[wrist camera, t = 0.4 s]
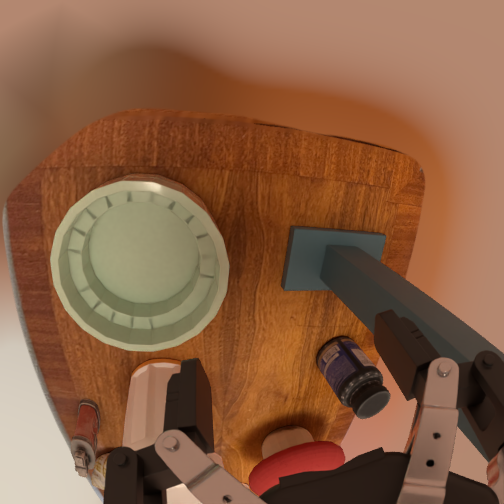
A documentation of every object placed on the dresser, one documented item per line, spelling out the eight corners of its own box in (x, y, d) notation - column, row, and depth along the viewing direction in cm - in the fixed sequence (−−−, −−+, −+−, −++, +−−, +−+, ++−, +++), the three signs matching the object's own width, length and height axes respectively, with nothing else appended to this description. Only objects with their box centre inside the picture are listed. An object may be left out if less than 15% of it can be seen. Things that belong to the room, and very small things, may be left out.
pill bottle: (317, 375, 41) (350, 430, 31) (313, 344, 39) (350, 402, 29) (354, 359, 42) (393, 408, 32) (354, 328, 40) (398, 378, 30)
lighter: (100, 433, 37) (95, 485, 28) (80, 428, 36) (72, 479, 27) (100, 402, 35) (91, 459, 26) (77, 396, 34) (65, 452, 25)
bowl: (69, 172, 25) (46, 180, 20) (226, 178, 29) (238, 187, 24) (79, 314, 30) (65, 345, 25) (213, 319, 34) (221, 352, 29)
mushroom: (235, 465, 46) (253, 533, 33) (242, 415, 41) (269, 499, 28) (314, 452, 50) (342, 511, 37) (337, 401, 45) (378, 469, 31)
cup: (163, 334, 34) (166, 465, 18) (226, 383, 38) (257, 497, 22) (105, 380, 34) (89, 496, 18) (167, 421, 39) (177, 526, 23)
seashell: (158, 480, 43) (135, 517, 34) (114, 456, 45) (88, 490, 35) (161, 457, 40) (133, 501, 31) (111, 430, 41) (79, 468, 32)
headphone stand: (290, 225, 32) (565, 482, 3) (381, 232, 35) (610, 388, 6) (280, 286, 35) (466, 556, 5) (367, 285, 38) (555, 462, 9)
